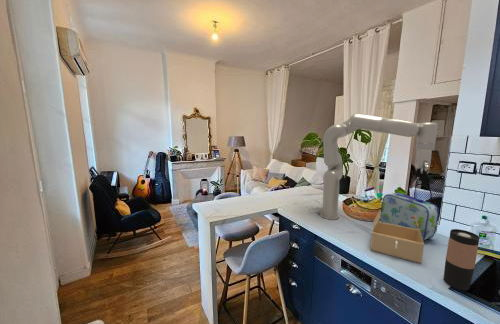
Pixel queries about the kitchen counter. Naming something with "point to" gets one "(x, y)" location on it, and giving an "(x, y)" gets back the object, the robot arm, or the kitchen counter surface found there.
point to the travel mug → (460, 258)
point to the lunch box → (410, 213)
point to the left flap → (377, 220)
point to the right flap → (418, 228)
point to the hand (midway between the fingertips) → (420, 179)
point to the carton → (397, 241)
